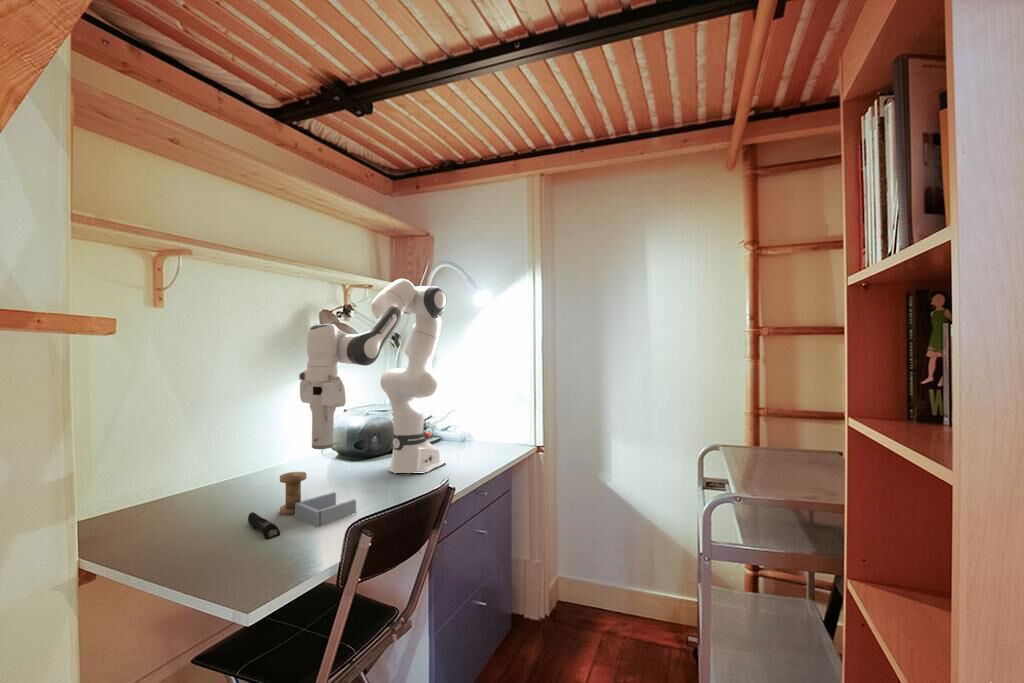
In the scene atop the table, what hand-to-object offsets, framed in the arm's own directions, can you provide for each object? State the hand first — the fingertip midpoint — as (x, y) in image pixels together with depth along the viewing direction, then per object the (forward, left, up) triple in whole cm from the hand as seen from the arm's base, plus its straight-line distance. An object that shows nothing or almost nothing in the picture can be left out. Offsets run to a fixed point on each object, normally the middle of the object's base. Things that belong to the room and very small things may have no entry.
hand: (322, 419), depth 140 cm
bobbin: (+11, +3, -25) cm, 27 cm away
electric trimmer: (+22, +9, -26) cm, 35 cm away
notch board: (+7, +14, -25) cm, 29 cm away
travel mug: (0, 0, -9) cm, 9 cm away
